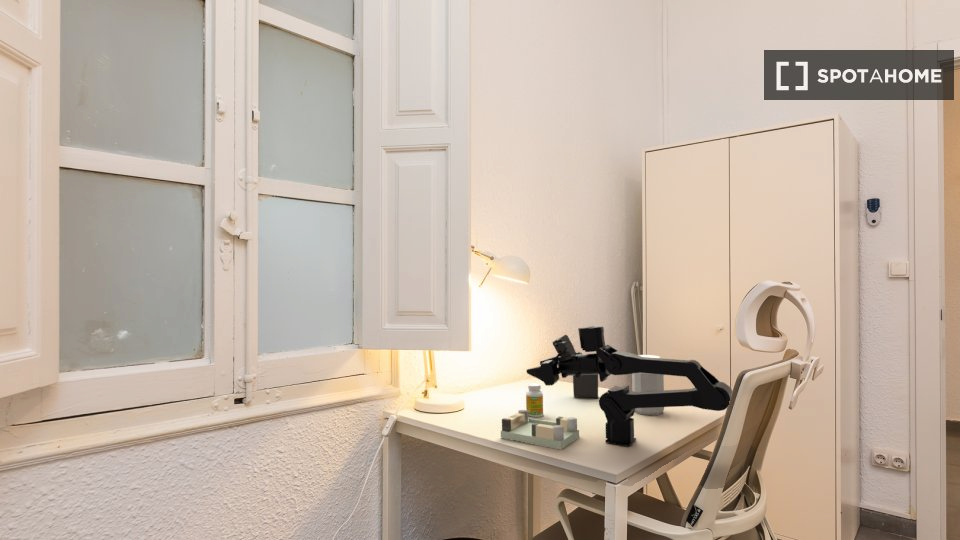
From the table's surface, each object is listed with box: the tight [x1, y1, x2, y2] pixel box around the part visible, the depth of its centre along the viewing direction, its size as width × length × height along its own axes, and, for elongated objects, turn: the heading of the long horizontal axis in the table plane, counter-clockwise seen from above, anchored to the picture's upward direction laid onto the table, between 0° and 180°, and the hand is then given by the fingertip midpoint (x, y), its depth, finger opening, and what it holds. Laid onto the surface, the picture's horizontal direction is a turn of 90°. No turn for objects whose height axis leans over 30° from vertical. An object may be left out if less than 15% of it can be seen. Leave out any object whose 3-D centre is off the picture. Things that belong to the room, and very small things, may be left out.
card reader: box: [572, 374, 599, 399], centre depth 185 cm, size 9×4×15 cm, turn 82°
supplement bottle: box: [525, 383, 544, 418], centre depth 162 cm, size 5×5×10 cm
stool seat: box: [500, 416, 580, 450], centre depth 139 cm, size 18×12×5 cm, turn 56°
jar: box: [631, 354, 665, 416], centre depth 164 cm, size 10×10×18 cm
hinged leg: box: [501, 409, 529, 432], centre depth 143 cm, size 12×3×3 cm, turn 146°
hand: (533, 367), depth 148 cm, fingers open, 9 cm apart
